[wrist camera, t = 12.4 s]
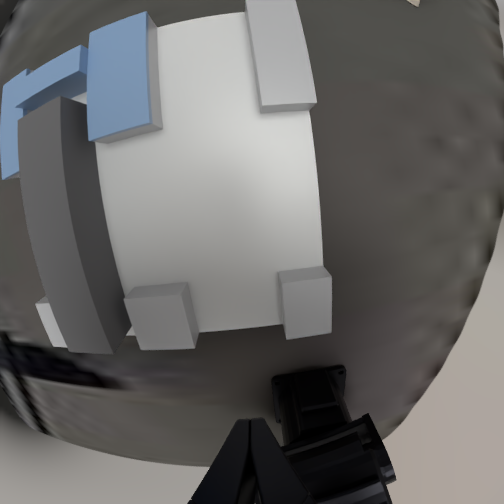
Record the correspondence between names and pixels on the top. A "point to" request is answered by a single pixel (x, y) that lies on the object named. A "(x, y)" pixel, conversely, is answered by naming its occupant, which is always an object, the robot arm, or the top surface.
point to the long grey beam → (70, 227)
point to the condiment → (414, 2)
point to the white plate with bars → (198, 169)
